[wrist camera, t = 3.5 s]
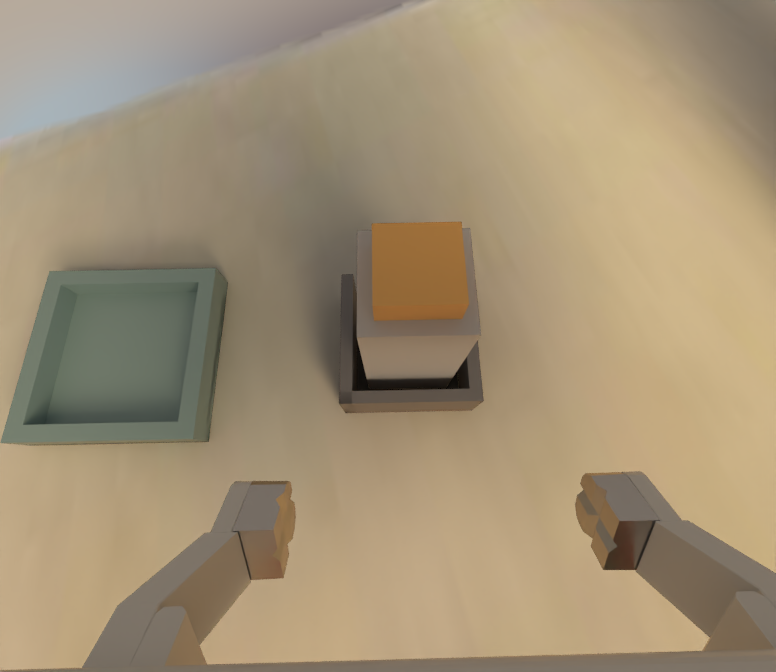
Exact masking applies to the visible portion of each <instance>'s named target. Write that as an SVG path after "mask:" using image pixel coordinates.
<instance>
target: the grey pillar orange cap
mask: <svg viewBox="0 0 776 672" xmlns="http://www.w3.org/2000/svg"><path fill="white" fill-rule="evenodd" d="M480 336H481V329H480V320H479V310H478V300H477V290H476V280H475V270H474V260H473V251H472V241H471V231H470V228H462V222H426V223H375V224H372V230H357V341H358V345H359V349H360V353H361V357H362V361H363V365H364V370H365V374H366V378H367V382H368V386H369V389H407V388H446V387H447V386H448V384H449V383H450V381H451V380H452V378H453V377H454V375H455V374H456V372H457V370H458V369H459V367H460V366H461V364H462V363H463V361H464V360H465V358H466V357H467V355H468V354H469V352H470V351H471V349H472V348H473V346H474V345H475V343H476V342H477V340H478V339H479V337H480Z"/></svg>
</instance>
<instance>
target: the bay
mask: <svg viewBox="0 0 776 672" xmlns="http://www.w3.org/2000/svg"><path fill="white" fill-rule="evenodd" d="M457 374H458V387H459V389H429V390H382V391H357V293H356V288H355V282H354V277H353V274H346V275H342V288H341V340H340V392H339V404H340V406H341V407H342V408H343V410H344V411H345V413H367V412H415V411H462V410H472V409H474V408H475V407H476V406H478V405H479V404H480V403H481V402H483V401H484V400H483V390H482V380H481V370H480V360H479V350H478V340H477V342H476V343H475V345H474V346H473V348H472V349H471V351H470V352H469V354H468V355H467V357H466V358H465V360H464V361H463V363H462V364H461V366H460V367H459V369H458V370H457Z"/></svg>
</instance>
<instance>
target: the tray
mask: <svg viewBox="0 0 776 672" xmlns="http://www.w3.org/2000/svg"><path fill="white" fill-rule="evenodd" d="M227 286H228V282H227V281H226V280H225V278H224V277H223V276H222V275H221V274H220V272H219V271H218V270H217V269H216V268H197V269H146V270H96V271H49V275H48V278H47V282H46V285H45V289H44V292H43V296H42V299H41V303H40V306H39V310H38V313H37V317H36V320H35V324H34V327H33V331H32V334H31V338H30V341H29V345H28V348H27V352H26V355H25V359H24V362H23V366H22V369H21V373H20V376H19V380H18V383H17V387H16V390H15V394H14V397H13V401H12V404H11V408H10V411H9V415H8V418H7V422H6V425H5V429H4V432H3V436H2V439H1V443H7V444H20V445H76V444H123V443H170V442H209V434H210V426H211V417H212V409H213V401H214V393H215V384H216V376H217V368H218V360H219V352H220V343H221V335H222V327H223V319H224V311H225V302H226V294H227Z"/></svg>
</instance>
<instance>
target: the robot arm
mask: <svg viewBox="0 0 776 672" xmlns="http://www.w3.org/2000/svg"><path fill="white" fill-rule="evenodd" d="M580 484H581V486H582V488H583V491H582V492H581V493H579V494H578V495H577V498H576V503H575V507H576V516H577V519H578V522H579V524H580V526H581V528H582V530H583V532H585V533H586V534H587V535H589V536H590V537H591V538H592V543H591V548H592V550H593V551H594V553H595V555H596V557H597V559H598V561H599V563H600V565H601V567H602V569H603V570H636V572H637V573H638V574H639V575H640V576H641V577H643V578H644V579H645V580H646V581H647V582H648V583H649V584H650V585H652V586H653V587H654V588H655V589H656V590H657V591H658V592H659V593H660V594H662V595H663V596H664V597H665V598H666V599H667V600H668V601H669V602H671V603H672V604H673V605H674V606H675V607H676V608H677V609H678V610H680V611H681V612H682V613H683V614H684V615H685V616H686V617H687V618H689V619H690V620H691V621H692V622H693V623H694V624H695V625H696V626H698V627H699V628H700V629H701V630H702V631H703V632H704V633H705V634H706V635H708V636H709V637H710V638H709V640H708V642H707V643H706V645H705V647H704V649H703V650H702V651H684V652H648V653H611V654H575V655H538V656H502V657H467V658H432V659H396V660H360V661H323V662H286V663H249V664H212V665H207V663H206V661H205V658H204V656H203V653H202V651H201V648H200V644H201V643H202V642H203V640H204V639H205V638H206V637H207V635H208V634H209V633H210V632H211V630H212V629H213V628H214V627H215V626H216V624H217V623H218V622H219V621H220V619H221V618H222V617H223V616H224V614H225V613H226V612H227V611H228V610H229V608H230V607H231V606H232V605H233V603H234V602H235V601H236V600H237V598H238V597H239V596H240V595H241V594H242V592H243V591H244V590H245V589H246V587H247V586H248V585H249V584H250V582H251V581H250V580H259V579H277V578H284V574H285V570H286V565H287V561H288V557H289V551H288V545H287V544H288V543H289V542H290V541H291V540H292V539H293V534H294V529H295V519H296V515H295V504H294V502H293V501H292V500H291V499H290V498H291V494H292V487H291V482H289V481H235V482H234V483H233V484H232V485H231V487H230V489H229V492H228V494H227V496H226V498H225V501H224V503H223V505H222V507H221V510H220V512H219V514H218V516H217V519H216V521H215V523H214V526H213V528H212V530H211V532H210V533H204V534H203V535H202V536H200V537H199V538H198V539H197V540H196V541H194V542H193V543H192V544H191V545H190V546H188V547H187V548H186V549H185V550H184V551H183V552H181V553H180V554H179V555H178V556H177V557H175V558H174V559H173V560H172V561H171V562H169V563H168V564H167V565H166V566H165V567H163V568H162V569H161V570H160V571H159V572H157V573H156V574H155V575H154V576H153V577H151V578H150V579H149V580H148V581H147V582H145V583H144V584H143V585H142V586H141V587H140V588H138V589H137V590H136V591H135V592H134V593H132V594H131V595H130V596H129V597H128V598H126V599H125V600H124V601H123V602H122V603H120V604H119V605H118V606H117V608H116V609H115V611H114V613H113V615H112V616H111V618H110V620H109V622H108V623H107V625H106V627H105V629H104V630H103V632H102V634H101V636H100V637H99V639H98V641H97V643H96V644H95V646H94V648H93V650H92V651H91V653H90V655H89V657H88V658H87V660H86V662H85V664H84V665H83V667H82V668H60V669H23V670H0V672H776V573H774V572H773V571H771V570H769V569H768V568H766V567H764V566H763V565H761V564H759V563H758V562H756V561H754V560H753V559H751V558H749V557H748V556H746V555H744V554H743V553H741V552H739V551H738V550H736V549H734V548H733V547H731V546H729V545H728V544H726V543H725V542H723V541H721V540H720V539H718V538H716V537H715V536H713V535H711V534H710V533H708V532H706V531H705V530H703V529H701V528H700V527H698V526H696V525H695V524H693V523H691V522H690V521H682V520H681V518H680V517H679V516H678V515H677V513H676V512H675V511H674V510H673V508H672V507H671V506H670V505H669V503H668V502H667V501H666V500H665V498H664V497H663V496H662V495H661V494H660V492H659V491H658V490H657V489H656V487H655V486H654V485H653V484H652V482H651V481H650V480H649V479H648V477H647V476H646V475H645V474H644V473H642V472H621V473H620V472H610V473H585V474H584V475H583V476H582V479H581V483H580Z"/></svg>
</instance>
